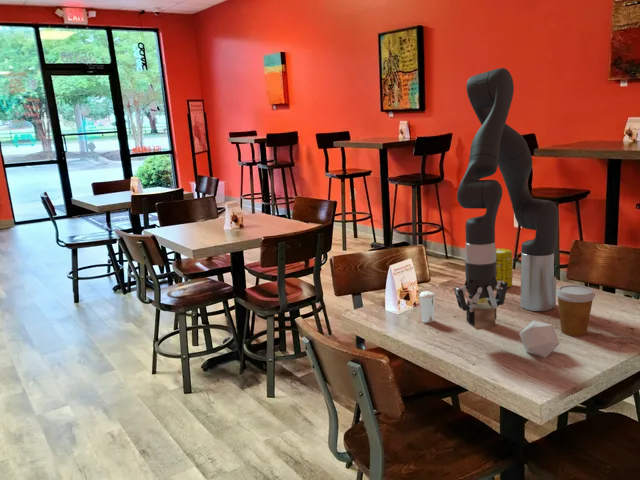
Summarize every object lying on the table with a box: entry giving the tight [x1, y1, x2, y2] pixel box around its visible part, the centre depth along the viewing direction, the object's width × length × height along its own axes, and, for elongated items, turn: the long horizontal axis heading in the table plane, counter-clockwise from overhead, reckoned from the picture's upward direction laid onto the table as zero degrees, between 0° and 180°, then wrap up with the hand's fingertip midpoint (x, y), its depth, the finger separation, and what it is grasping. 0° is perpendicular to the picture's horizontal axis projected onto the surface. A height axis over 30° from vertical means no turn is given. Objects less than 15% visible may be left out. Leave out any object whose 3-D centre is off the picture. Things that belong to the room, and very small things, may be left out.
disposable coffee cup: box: [556, 284, 596, 337], centre depth 149 cm, size 10×10×12 cm
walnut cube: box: [470, 302, 496, 331], centre depth 143 cm, size 5×5×5 cm
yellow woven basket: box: [494, 247, 514, 291], centre depth 192 cm, size 14×11×9 cm
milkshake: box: [418, 288, 439, 324], centre depth 164 cm, size 4×5×10 cm
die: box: [518, 320, 561, 359], centre depth 138 cm, size 8×9×10 cm
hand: (481, 322), depth 143 cm, fingers closed on walnut cube, 5 cm apart
